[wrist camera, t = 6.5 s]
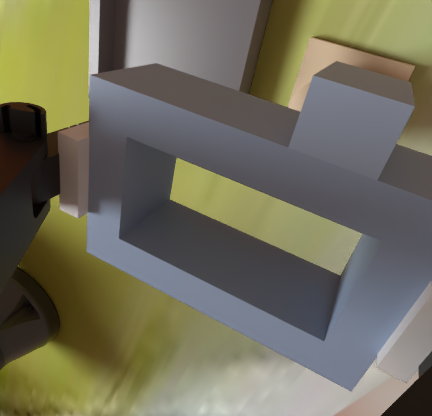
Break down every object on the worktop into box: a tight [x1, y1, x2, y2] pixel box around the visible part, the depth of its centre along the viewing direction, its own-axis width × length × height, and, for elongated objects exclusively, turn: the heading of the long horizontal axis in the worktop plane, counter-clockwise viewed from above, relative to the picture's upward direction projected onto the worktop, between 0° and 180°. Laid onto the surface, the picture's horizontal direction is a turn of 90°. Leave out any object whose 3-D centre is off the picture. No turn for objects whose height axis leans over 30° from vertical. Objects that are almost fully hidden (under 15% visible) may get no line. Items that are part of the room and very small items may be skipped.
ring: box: [87, 61, 432, 391], centre depth 11 cm, size 10×8×3 cm
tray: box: [89, 0, 273, 99], centre depth 28 cm, size 14×17×2 cm
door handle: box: [288, 37, 415, 112], centre depth 21 cm, size 7×7×14 cm
